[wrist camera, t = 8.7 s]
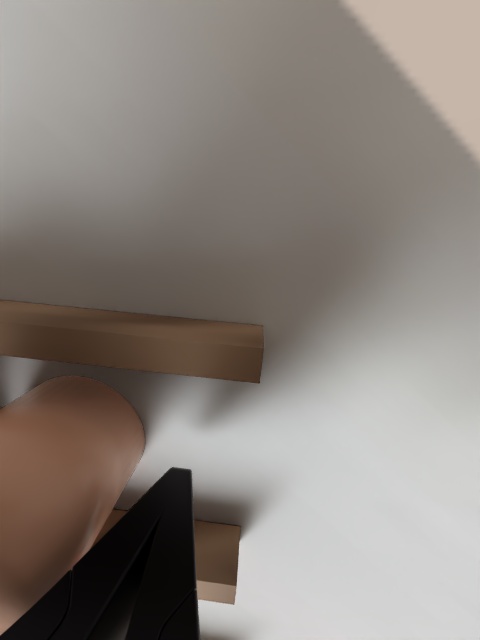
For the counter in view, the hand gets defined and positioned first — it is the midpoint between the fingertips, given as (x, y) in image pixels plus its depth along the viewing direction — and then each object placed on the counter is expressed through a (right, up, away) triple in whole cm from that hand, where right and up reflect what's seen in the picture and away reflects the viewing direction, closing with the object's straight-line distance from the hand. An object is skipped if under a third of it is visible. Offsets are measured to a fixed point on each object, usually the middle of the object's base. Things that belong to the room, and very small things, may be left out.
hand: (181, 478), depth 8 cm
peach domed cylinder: (-4, +1, +2) cm, 5 cm away
